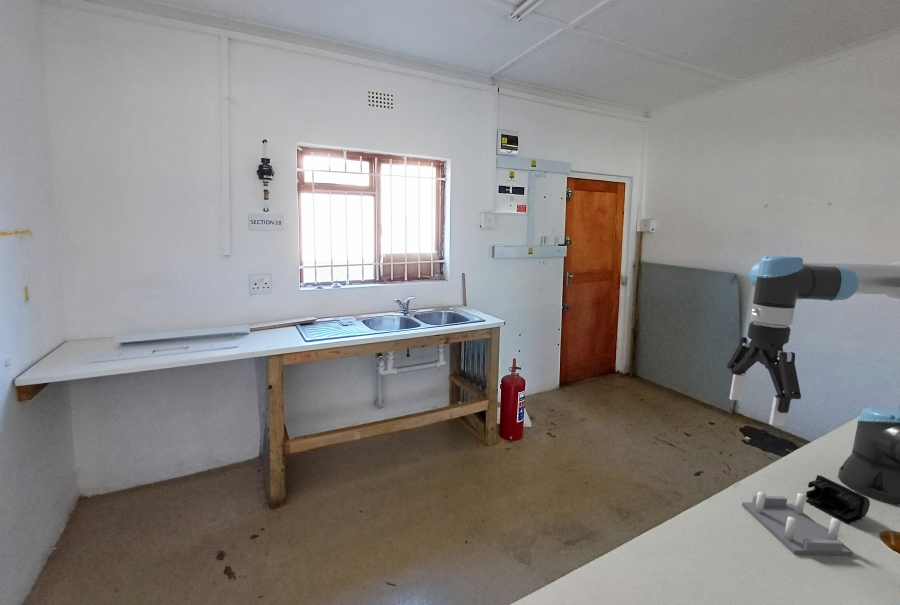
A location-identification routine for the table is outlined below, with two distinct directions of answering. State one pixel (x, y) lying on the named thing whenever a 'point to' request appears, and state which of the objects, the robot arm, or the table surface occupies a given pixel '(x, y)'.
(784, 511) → the tray
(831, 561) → the table surface
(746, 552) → the table surface
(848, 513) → the end cap
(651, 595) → the table surface
